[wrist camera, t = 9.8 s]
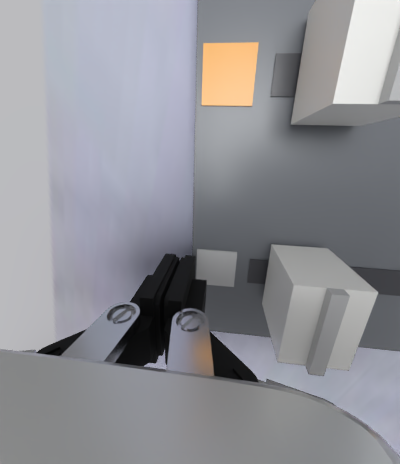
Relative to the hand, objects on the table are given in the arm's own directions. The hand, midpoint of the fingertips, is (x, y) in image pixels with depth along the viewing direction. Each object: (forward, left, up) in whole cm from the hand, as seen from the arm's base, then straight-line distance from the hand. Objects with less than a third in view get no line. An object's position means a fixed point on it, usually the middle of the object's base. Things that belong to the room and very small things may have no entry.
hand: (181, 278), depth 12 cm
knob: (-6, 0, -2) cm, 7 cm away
